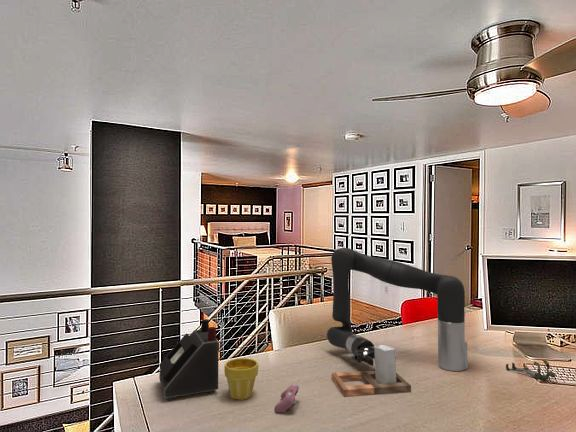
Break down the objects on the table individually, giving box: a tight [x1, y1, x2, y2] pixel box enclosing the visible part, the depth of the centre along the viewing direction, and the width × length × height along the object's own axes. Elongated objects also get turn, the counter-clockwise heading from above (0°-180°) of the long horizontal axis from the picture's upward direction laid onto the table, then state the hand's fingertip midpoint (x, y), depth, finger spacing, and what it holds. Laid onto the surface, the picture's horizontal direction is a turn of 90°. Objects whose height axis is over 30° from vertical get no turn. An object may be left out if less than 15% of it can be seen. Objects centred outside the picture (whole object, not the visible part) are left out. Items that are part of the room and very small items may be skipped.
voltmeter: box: [158, 319, 220, 401], centre depth 126 cm, size 16×16×20 cm
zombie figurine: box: [505, 359, 556, 381], centre depth 136 cm, size 5×7×15 cm
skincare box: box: [374, 344, 397, 384], centre depth 130 cm, size 6×4×12 cm
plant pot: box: [224, 357, 259, 401], centre depth 121 cm, size 10×10×10 cm
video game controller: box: [274, 383, 300, 414], centre depth 113 cm, size 10×5×7 cm, turn 169°
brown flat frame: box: [331, 369, 412, 397], centre depth 129 cm, size 22×14×2 cm, turn 99°
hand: (383, 361), depth 130 cm, fingers open, 8 cm apart
